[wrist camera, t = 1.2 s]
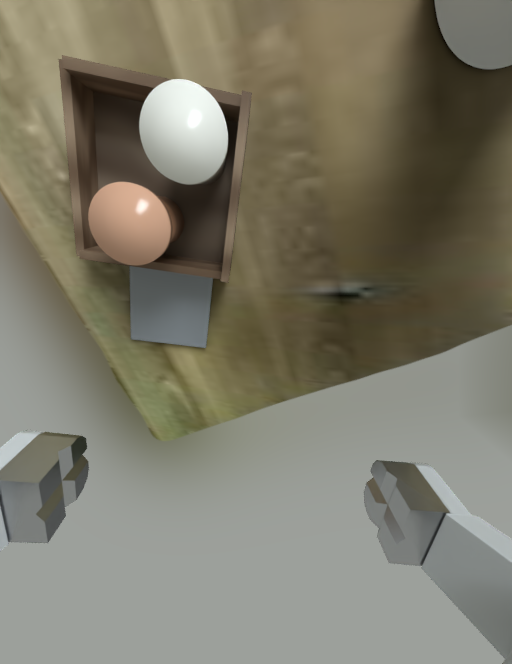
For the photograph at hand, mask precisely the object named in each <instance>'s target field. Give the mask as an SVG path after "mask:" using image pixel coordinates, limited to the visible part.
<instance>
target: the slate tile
mask: <svg viewBox="0 0 512 664" xmlns="http://www.w3.org/2000/svg"><path fill="white" fill-rule="evenodd" d="M212 286H213V278H209V277H202V276H195V275H188V274H181V273H174V272H167V271H161V270H154V269H147V268H140V267H133V266H130V316H131V339H134V340H143V341H151V342H160V343H168V344H177V345H185V346H194V347H202V348H206V345H207V335H208V325H209V316H210V306H211V296H212Z"/></svg>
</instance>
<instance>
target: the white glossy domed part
mask: <svg viewBox="0 0 512 664" xmlns="http://www.w3.org/2000/svg"><path fill="white" fill-rule="evenodd" d="M139 130H140V138H141V142H142V145H143V148H144V151H145V153H146V155H147V157H148V159H149V160H150V162H151V163H152V164H153V166H154V167H155V168H156V169H157V170H158V171H159V172H160V173H161V174H163V175H164V176H165V177H167V178H169V179H171V180H173V181H175V182H178V183H181V184H185V185H197V184H199V185H207V184H211V183H213V182H215V181H216V180H217V179H218V178H219V177H220V176H221V174H222V173H223V170H224V168H225V163H226V155H227V150H228V131H227V125H226V121H225V118H224V115H223V112H222V110H221V108H220V106H219V104H218V103H217V101H216V100H215V99H214V97H213V96H212V95H211V94H210V93H209V92H208V91H207V90H206V89H204V88H203V87H201V86H200V85H198V84H196V83H194V82H192V81H188V80H183V79H174V80H169V81H166V82H163V83H162V84H160V85H158V86H157V87H156V88H154V89H153V90H152V91H151V93H150V94H149V95H148V97H147V98H146V100H145V102H144V104H143V107H142V110H141V114H140V121H139Z"/></svg>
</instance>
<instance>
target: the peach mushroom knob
mask: <svg viewBox="0 0 512 664" xmlns="http://www.w3.org/2000/svg"><path fill="white" fill-rule="evenodd" d="M88 220H89V226H90V230H91V233H92V235H93V237H94V239H95V241H96V243H97V244H98V245H99V247H100V248H101V249H102V250H103V251H104V252H105V253H106V254H107V255H108V256H110V257H111V258H113V259H114V260H116V261H118V262H121V263H124V264H128V265H144V264H148V263H150V262H152V261H154V260H156V259H157V258H159V257H160V256H161V255H162V254H164V252H165V251H166V250H167V248H168V247H169V245H170V244H171V243H173V242H175V241H176V240H177V239H178V238H179V237H180V236H181V234H182V232H183V228H184V218H183V214H182V212H181V210H180V208H179V207H178V206H177V204H176V203H175V202H173V201H172V200H171V199H169V198H167V197H164V196H159V195H156V194H155V193H154V192H152V191H151V190H149V189H148V188H146V187H144V186H141V185H138V184H134V183H130V182H115V183H111V184H108V185H106V186H104V187H103V188H101V189H100V190H99V191H98V192H97V193H96V194H95V196H94V197H93V199H92V201H91V203H90V207H89V213H88Z"/></svg>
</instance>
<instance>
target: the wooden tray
mask: <svg viewBox="0 0 512 664" xmlns="http://www.w3.org/2000/svg"><path fill="white" fill-rule="evenodd" d="M59 68H60V79H61V89H62V100H63V111H64V122H65V133H66V144H67V155H68V166H69V177H70V188H71V199H72V210H73V221H74V232H75V243H76V253H77V256H80V259H85V260H92V261H99V262H106V263H113V264H119V265H126V266H133V267H140V268H147V269H154V270H161V271H167V272H174V273H181V274H188V275H195V276H202V277H209V278H215V279H221V282H227V283H228V281H229V275H230V268H231V260H232V252H233V244H234V236H235V228H236V220H237V211H238V203H239V195H240V187H241V179H242V171H243V163H244V155H245V147H246V139H247V131H248V123H249V114H250V105H251V95H252V93H250V92H246V91H242V95H239V94H234V93H230V92H225V91H221V90H216V89H212V88H207V87H203V86H201V87H203V88H204V89H206V90H207V91H208V92H209V93H210V94H211V95H212V96H213V97H214V99H215V100H216V101H217V103H218V104H219V106H220V108H221V110H222V112H223V115H224V118H225V121H226V125H227V131H228V150H227V155H226V163H225V168H224V170H223V173H222V174H221V176H220V177H219V178H218V179H217V180H216V181H215V182H213V183H211V184H207V185H199V184H197V185H185V184H181V183H178V182H175V181H173V180H171V179H169V178H167V177H165V176H164V175H163V174H161V173H160V172H159V171H158V170H157V169H156V168H155V167H154V166H153V164H152V163H151V162H150V160H149V159H148V157H147V155H146V153H145V151H144V148H143V145H142V142H141V138H140V130H139V121H140V114H141V110H142V107H143V104H144V102H145V100H146V98H147V97H148V95H149V94H150V93H151V91H152V90H153V89H154V88H156V87H157V86H158V85H160V84H162V83H163V82H166V81H169V80H171V79H167V78H162V77H158V76H153V75H149V74H144V73H140V72H135V71H131V70H126V69H122V68H117V67H113V66H108V65H104V64H99V63H95V62H90V61H86V60H81V59H77V58H72V57H68V56H63V55H62V60H61V59H59ZM115 182H130V183H134V184H138V185H141V186H144V187H146V188H148V189H149V190H151V191H152V192H154V193H155V194H156V195H159V196H164V197H167V198H169V199H171V200H172V201H173V202H175V203H176V204H177V206H178V207H179V208H180V210H181V212H182V214H183V218H184V228H183V232H182V234H181V236H180V237H179V238H178V239H177V240H176V241H175V242H173V243H171V244H170V245H169V247H168V248H167V250H166V251H165V252H164V254H162V255H161V256H160V257H159V258H157V259H156V260H154V261H152V262H150V263H148V264H144V265H128V264H124V263H121V262H118V261H116V260H114V259H113V258H111V257H110V256H108V255H107V254H106V253H105V252H104V251H103V250H102V249H101V248H100V247H99V245H98V244H97V243H96V241H95V239H94V237H93V235H92V233H91V230H90V226H89V220H88V213H89V207H90V203H91V201H92V199H93V197H94V196H95V194H96V193H97V192H98V191H99V190H100V189H101V188H103V187H104V186H106V185H108V184H111V183H115Z"/></svg>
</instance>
